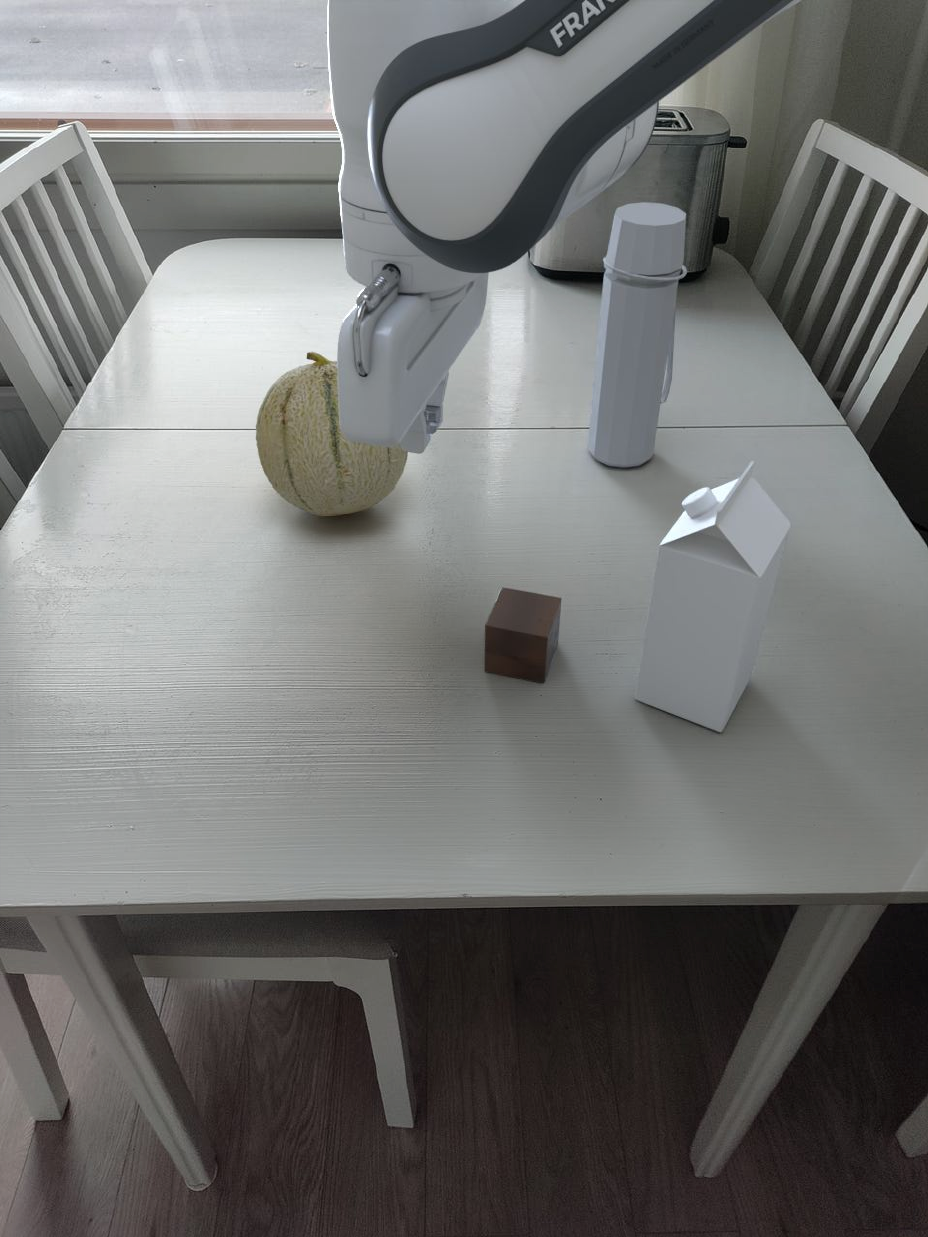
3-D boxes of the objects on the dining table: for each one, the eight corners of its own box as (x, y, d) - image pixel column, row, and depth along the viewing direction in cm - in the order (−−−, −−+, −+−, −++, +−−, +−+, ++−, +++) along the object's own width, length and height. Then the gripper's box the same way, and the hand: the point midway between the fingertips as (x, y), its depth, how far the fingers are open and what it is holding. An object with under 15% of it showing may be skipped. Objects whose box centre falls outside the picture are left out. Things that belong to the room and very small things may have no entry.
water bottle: (615, 480, 99) (644, 233, 83) (571, 446, 104) (590, 208, 88) (683, 456, 103) (724, 215, 86) (637, 425, 108) (668, 192, 92)
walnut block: (558, 643, 80) (561, 597, 77) (544, 684, 76) (547, 637, 73) (500, 632, 81) (501, 586, 78) (484, 671, 77) (484, 625, 74)
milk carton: (750, 678, 77) (804, 474, 64) (721, 735, 72) (773, 527, 60) (666, 648, 79) (703, 447, 67) (633, 701, 75) (665, 495, 62)
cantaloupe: (336, 565, 88) (320, 419, 78) (235, 507, 95) (208, 367, 86) (443, 498, 97) (441, 359, 87) (343, 449, 104) (330, 315, 94)
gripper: (408, 311, 51) (417, 526, 60) (505, 194, 66) (501, 380, 75) (298, 298, 52) (323, 510, 61) (418, 187, 67) (424, 370, 76)
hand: (421, 438), depth 68 cm, fingers closed
